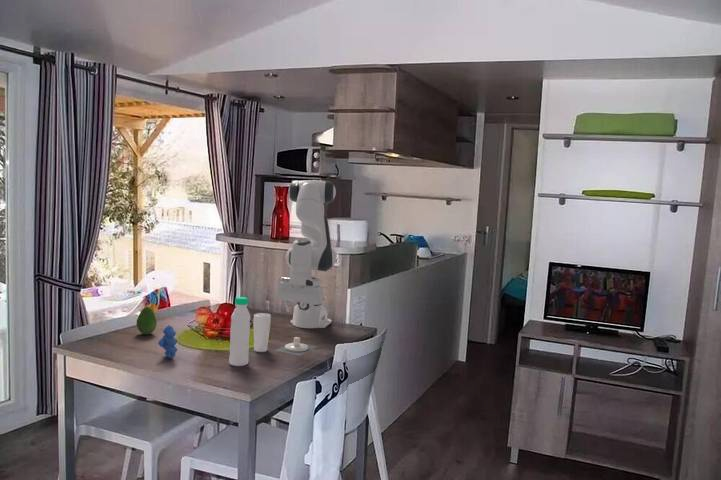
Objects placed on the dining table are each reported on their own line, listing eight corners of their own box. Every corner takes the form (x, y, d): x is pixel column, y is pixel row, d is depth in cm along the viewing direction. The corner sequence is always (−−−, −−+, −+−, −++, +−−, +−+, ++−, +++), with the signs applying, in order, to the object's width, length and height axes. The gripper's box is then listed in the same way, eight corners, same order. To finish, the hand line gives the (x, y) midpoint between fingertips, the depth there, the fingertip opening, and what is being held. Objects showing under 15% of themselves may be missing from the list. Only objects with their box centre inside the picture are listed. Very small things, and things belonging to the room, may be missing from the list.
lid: (292, 344, 233) (292, 333, 233) (312, 347, 229) (312, 337, 229) (280, 349, 224) (281, 338, 224) (301, 353, 220) (301, 342, 220)
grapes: (153, 354, 208) (154, 323, 207) (171, 352, 212) (172, 322, 211) (161, 363, 199) (162, 330, 198) (180, 361, 203) (181, 329, 202)
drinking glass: (265, 354, 218) (267, 317, 216) (249, 352, 219) (251, 315, 218) (271, 350, 224) (273, 314, 223) (255, 348, 226) (257, 312, 224)
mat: (293, 343, 236) (293, 341, 236) (318, 347, 232) (318, 346, 232) (273, 352, 222) (273, 350, 222) (299, 357, 217) (299, 355, 217)
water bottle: (230, 367, 200) (233, 299, 198) (227, 361, 206) (230, 296, 204) (250, 366, 202) (253, 299, 200) (246, 360, 209) (249, 295, 207)
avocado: (156, 331, 240) (157, 304, 239) (155, 336, 233) (156, 308, 232) (136, 332, 237) (137, 304, 236) (135, 336, 230) (136, 308, 229)
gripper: (274, 277, 225) (272, 310, 226) (318, 283, 218) (317, 317, 218) (282, 276, 231) (280, 308, 232) (325, 281, 223) (323, 314, 224)
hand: (298, 312), depth 225 cm, fingers open, 8 cm apart
